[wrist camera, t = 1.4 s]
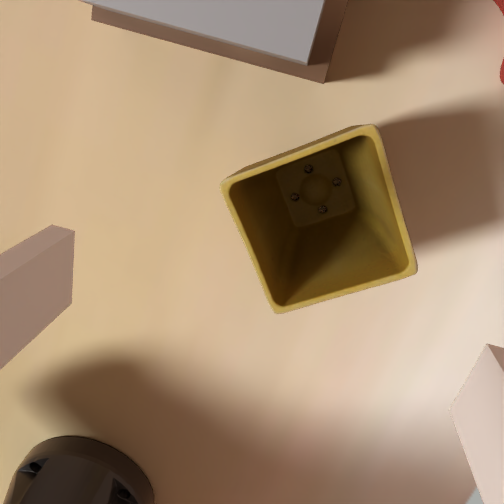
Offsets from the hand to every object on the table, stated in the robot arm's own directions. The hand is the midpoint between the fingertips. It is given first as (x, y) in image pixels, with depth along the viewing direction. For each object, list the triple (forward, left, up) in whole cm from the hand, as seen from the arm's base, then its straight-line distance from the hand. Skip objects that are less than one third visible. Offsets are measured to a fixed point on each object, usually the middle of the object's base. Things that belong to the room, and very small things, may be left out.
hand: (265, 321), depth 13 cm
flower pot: (0, -2, -20) cm, 20 cm away
